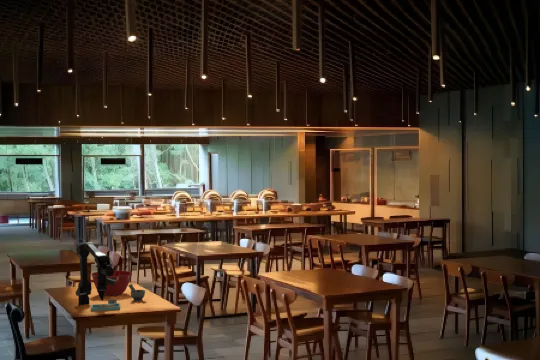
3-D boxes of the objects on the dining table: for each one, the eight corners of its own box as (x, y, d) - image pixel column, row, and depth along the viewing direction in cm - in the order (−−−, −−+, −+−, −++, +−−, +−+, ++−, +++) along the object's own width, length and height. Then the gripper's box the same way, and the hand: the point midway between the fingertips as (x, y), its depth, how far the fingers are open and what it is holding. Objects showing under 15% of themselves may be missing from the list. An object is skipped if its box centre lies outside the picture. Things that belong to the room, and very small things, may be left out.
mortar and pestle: (143, 299, 488) (143, 281, 488) (146, 301, 479) (146, 283, 479) (127, 300, 483) (126, 283, 483) (130, 303, 475) (130, 285, 474)
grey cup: (108, 307, 461) (108, 301, 461) (108, 305, 466) (108, 299, 466) (116, 306, 462) (116, 300, 462) (116, 305, 467) (116, 299, 467)
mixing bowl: (137, 291, 521) (136, 270, 521) (125, 298, 493) (124, 276, 492) (99, 291, 524) (99, 270, 523) (85, 298, 495) (85, 276, 495)
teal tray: (90, 312, 446) (90, 308, 446) (91, 308, 458) (91, 304, 458) (120, 310, 450) (120, 306, 450) (120, 307, 461) (120, 303, 461)
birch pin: (98, 305, 452) (112, 300, 453) (98, 304, 454) (113, 299, 455) (101, 313, 452) (115, 307, 454) (101, 312, 455) (115, 307, 456)
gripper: (114, 276, 445) (115, 301, 446) (115, 272, 464) (115, 295, 464) (96, 277, 443) (96, 302, 443) (97, 272, 461) (97, 296, 462)
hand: (102, 299), depth 453 cm, fingers open, 9 cm apart
